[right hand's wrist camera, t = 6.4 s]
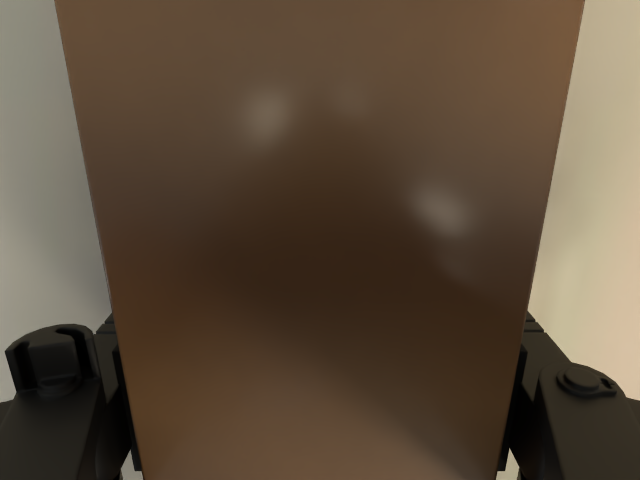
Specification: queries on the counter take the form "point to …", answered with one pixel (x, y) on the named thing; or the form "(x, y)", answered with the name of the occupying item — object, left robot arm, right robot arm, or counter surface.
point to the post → (319, 223)
